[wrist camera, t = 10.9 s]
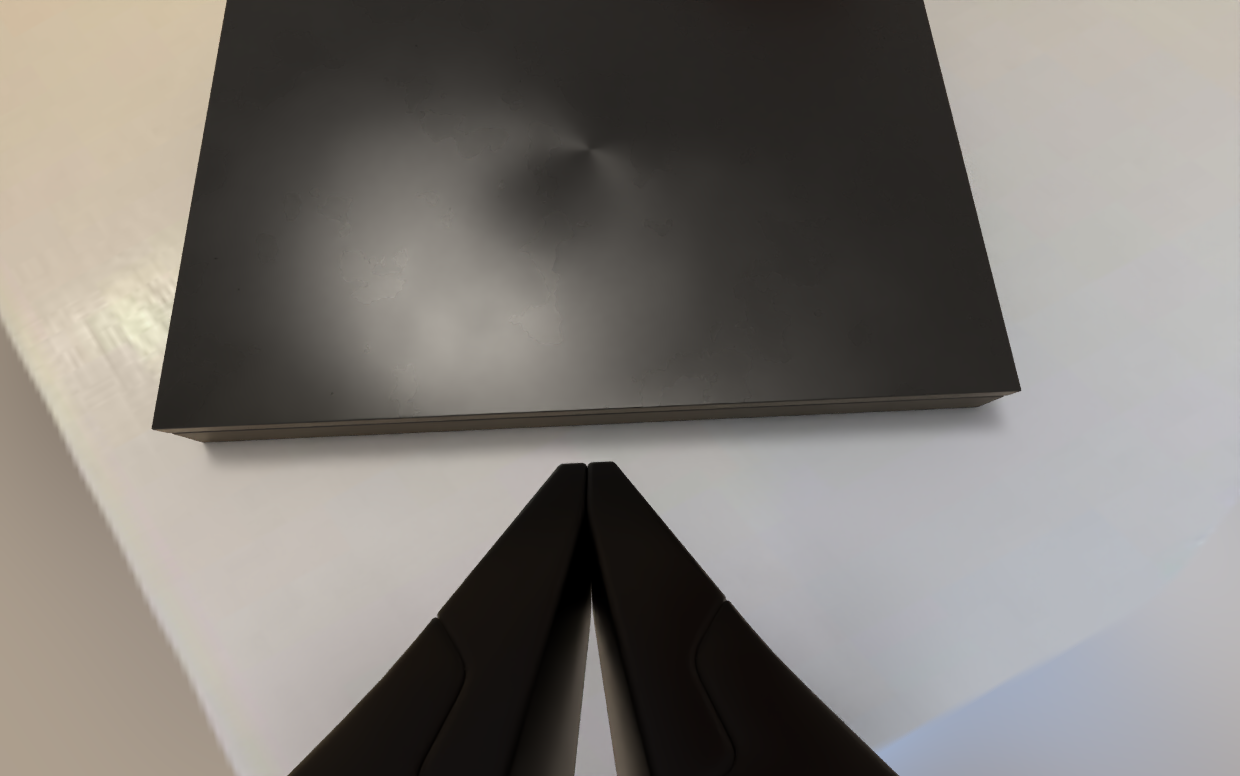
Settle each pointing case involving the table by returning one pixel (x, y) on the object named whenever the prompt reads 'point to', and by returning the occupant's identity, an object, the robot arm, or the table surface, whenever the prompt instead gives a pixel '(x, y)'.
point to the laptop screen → (575, 214)
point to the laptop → (584, 419)
